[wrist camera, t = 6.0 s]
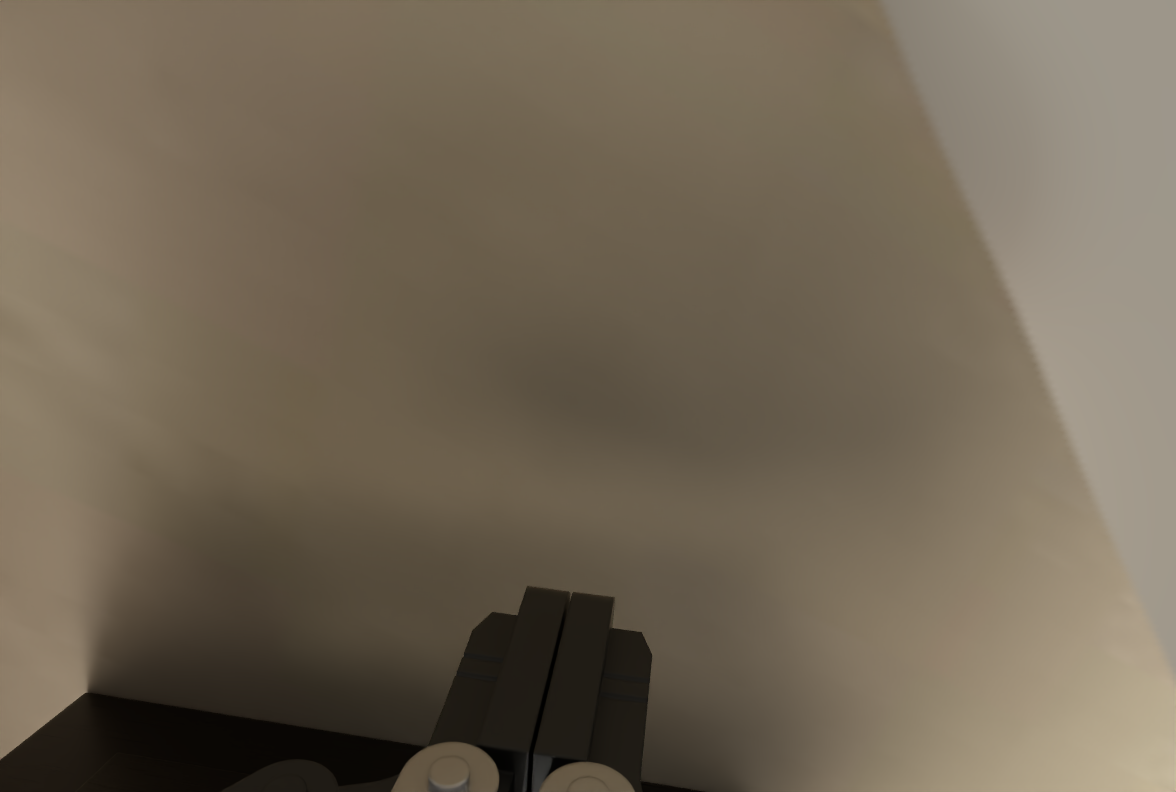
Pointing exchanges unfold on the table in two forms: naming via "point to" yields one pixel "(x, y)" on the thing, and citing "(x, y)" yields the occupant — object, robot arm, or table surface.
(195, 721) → the oven door
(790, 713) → the table surface
